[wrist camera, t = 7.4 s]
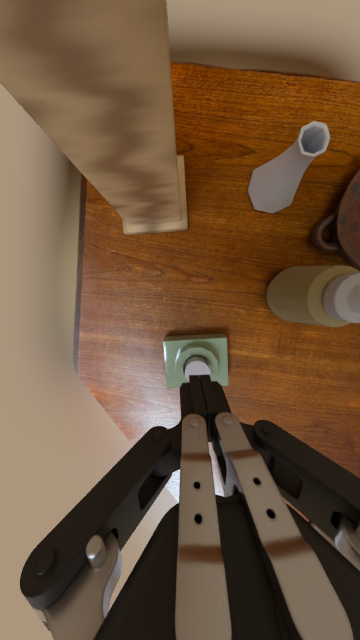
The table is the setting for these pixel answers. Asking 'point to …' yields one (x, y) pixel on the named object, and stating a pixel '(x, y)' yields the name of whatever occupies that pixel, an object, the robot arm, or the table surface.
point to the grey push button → (196, 367)
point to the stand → (102, 98)
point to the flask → (287, 169)
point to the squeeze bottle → (316, 295)
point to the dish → (343, 225)
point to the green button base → (195, 345)
